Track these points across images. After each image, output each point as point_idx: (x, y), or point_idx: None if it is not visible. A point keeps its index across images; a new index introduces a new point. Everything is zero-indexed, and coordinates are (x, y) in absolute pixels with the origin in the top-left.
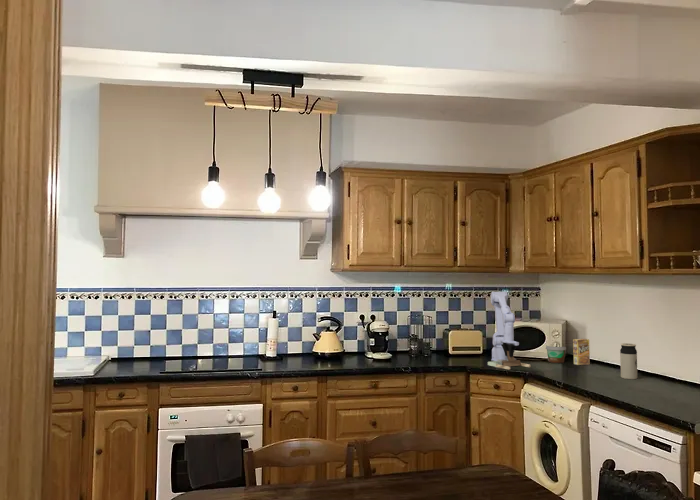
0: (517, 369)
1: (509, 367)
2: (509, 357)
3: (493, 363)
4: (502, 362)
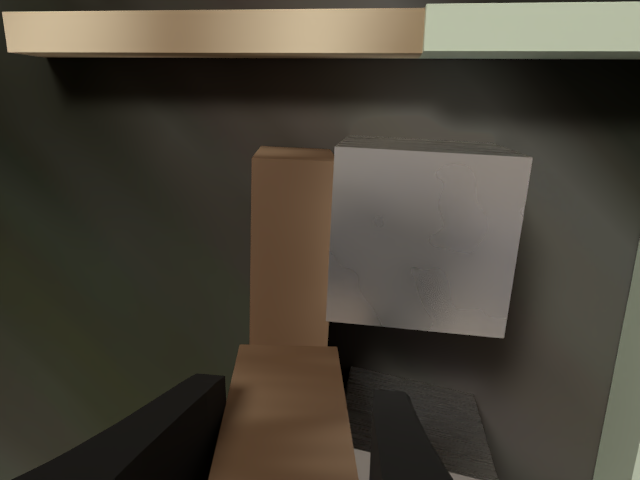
0: (10, 181)
1: (10, 26)
2: (272, 392)
3: (516, 6)
4: None
